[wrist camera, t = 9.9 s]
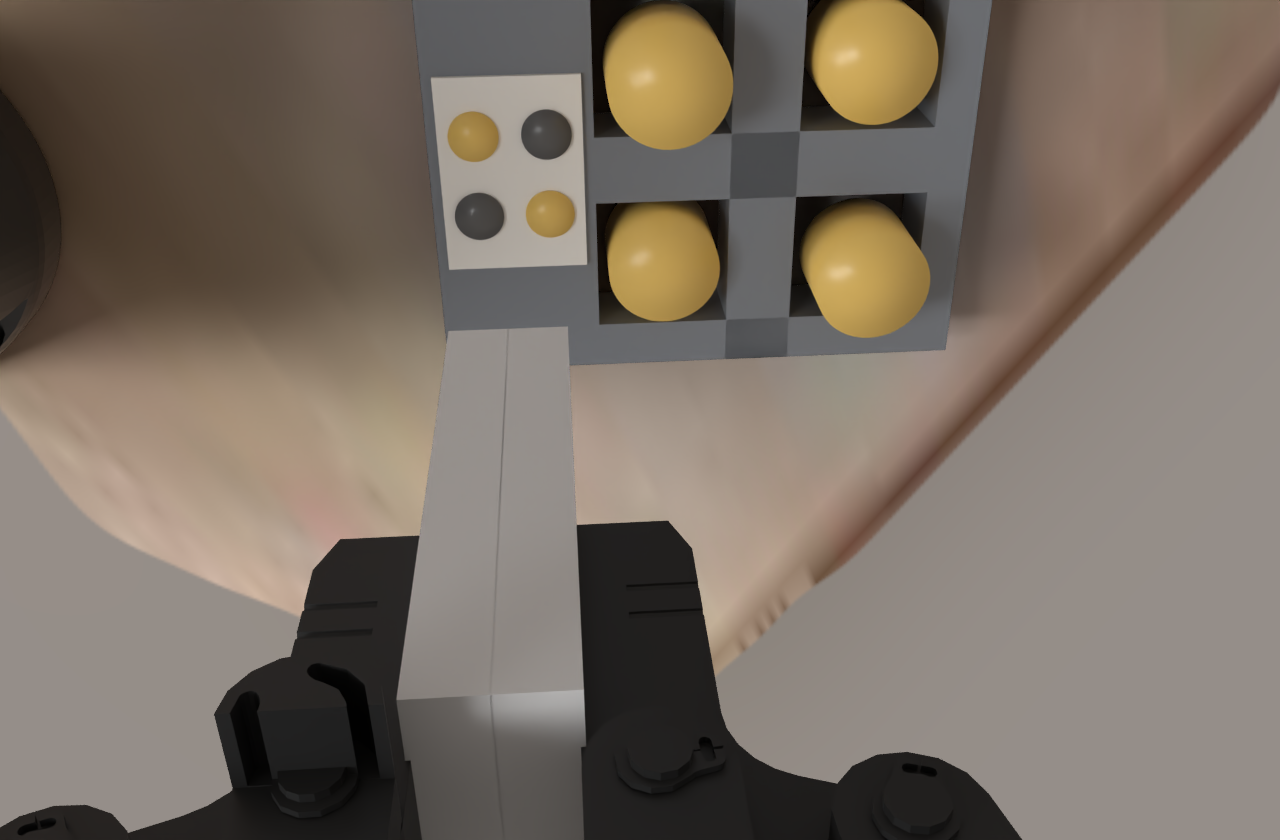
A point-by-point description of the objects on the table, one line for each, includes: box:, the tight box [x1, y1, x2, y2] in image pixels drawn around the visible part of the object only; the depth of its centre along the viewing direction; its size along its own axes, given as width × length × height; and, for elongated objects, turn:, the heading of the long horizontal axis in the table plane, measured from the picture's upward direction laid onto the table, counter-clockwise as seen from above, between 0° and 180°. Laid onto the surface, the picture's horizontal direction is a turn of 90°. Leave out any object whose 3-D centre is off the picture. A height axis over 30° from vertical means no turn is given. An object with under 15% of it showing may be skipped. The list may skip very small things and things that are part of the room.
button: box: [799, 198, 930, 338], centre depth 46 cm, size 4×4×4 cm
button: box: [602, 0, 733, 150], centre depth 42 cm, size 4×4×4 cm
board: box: [412, 0, 992, 365], centre depth 46 cm, size 20×16×3 cm
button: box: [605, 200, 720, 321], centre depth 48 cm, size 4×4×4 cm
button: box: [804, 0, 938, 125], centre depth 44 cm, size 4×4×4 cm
